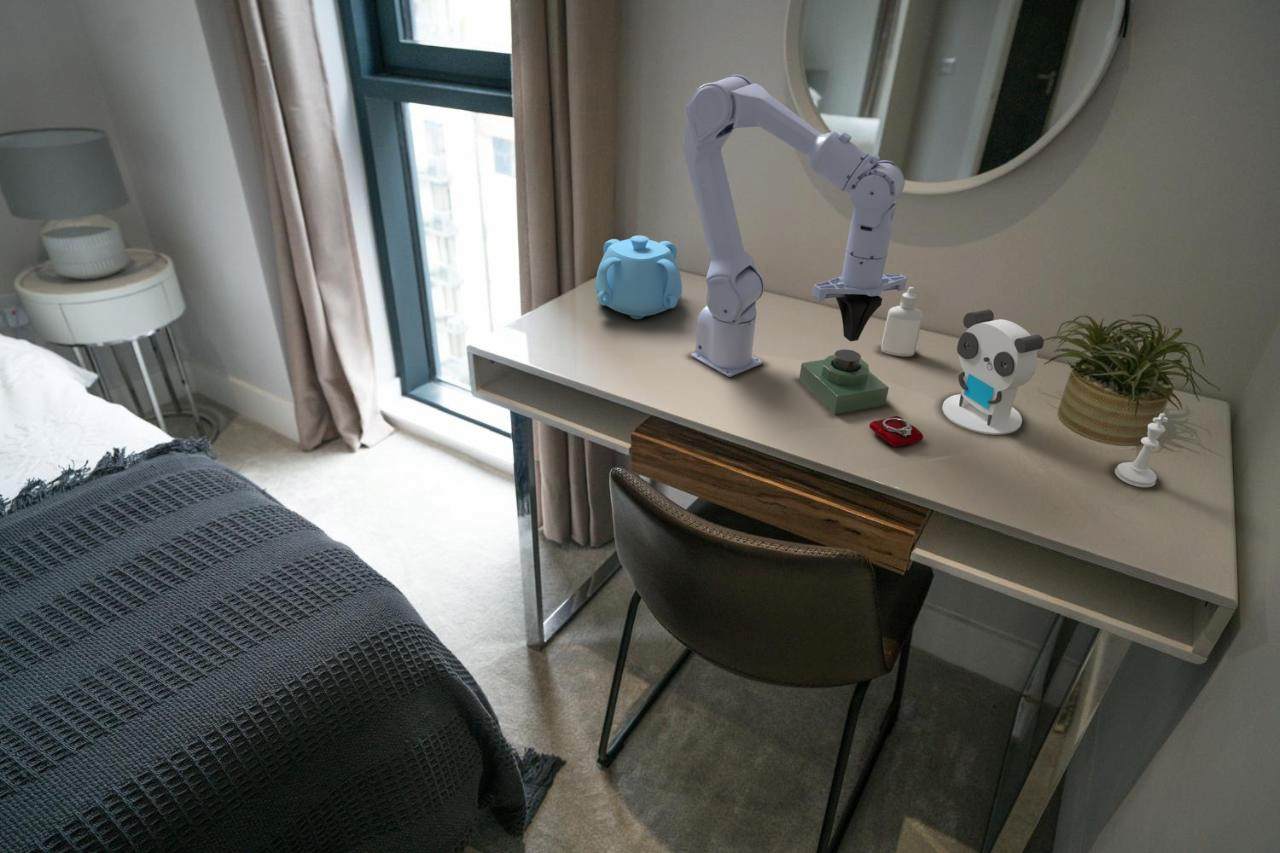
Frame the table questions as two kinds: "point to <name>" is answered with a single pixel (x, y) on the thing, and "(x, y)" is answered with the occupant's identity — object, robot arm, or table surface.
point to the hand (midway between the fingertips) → (850, 338)
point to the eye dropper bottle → (902, 327)
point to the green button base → (843, 386)
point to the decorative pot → (638, 276)
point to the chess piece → (1143, 458)
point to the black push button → (846, 360)
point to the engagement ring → (896, 431)
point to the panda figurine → (991, 373)
